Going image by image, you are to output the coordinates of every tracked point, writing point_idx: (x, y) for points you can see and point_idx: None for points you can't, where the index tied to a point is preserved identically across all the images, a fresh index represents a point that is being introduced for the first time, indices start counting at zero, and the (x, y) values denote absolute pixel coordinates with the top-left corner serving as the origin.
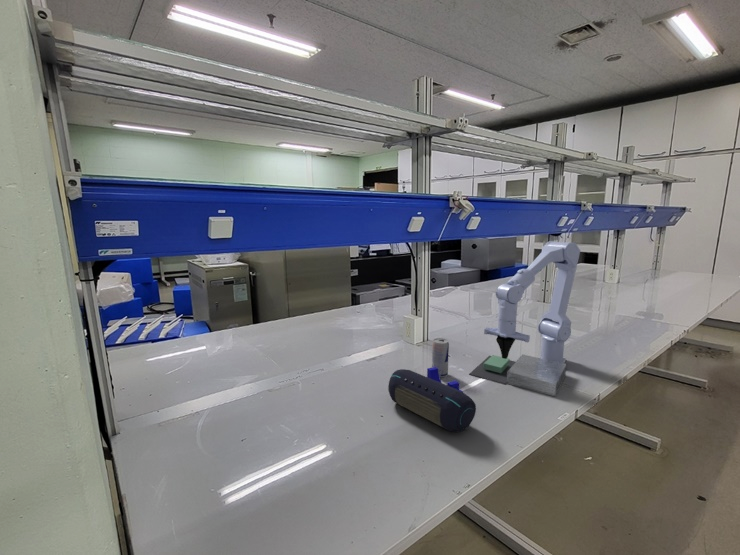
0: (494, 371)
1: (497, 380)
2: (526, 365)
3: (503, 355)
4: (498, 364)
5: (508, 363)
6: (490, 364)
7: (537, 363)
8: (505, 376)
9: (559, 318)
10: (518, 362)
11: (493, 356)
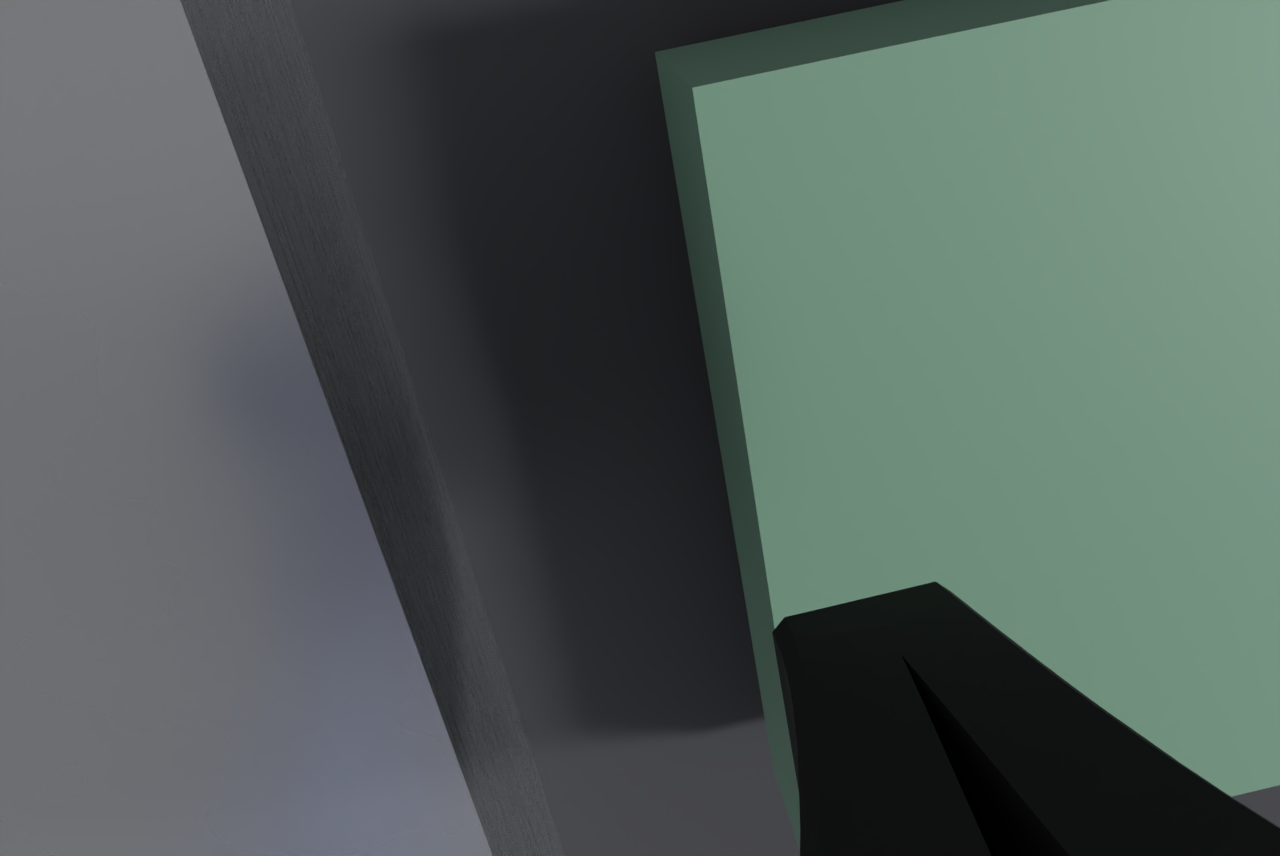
0: (887, 5)
1: None
2: (6, 797)
3: (926, 661)
4: (913, 285)
5: (775, 735)
6: (1165, 38)
7: None
8: (481, 50)
9: None
10: (372, 803)
11: (1276, 703)
